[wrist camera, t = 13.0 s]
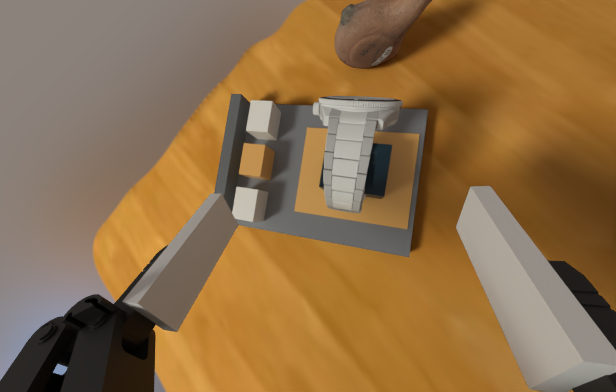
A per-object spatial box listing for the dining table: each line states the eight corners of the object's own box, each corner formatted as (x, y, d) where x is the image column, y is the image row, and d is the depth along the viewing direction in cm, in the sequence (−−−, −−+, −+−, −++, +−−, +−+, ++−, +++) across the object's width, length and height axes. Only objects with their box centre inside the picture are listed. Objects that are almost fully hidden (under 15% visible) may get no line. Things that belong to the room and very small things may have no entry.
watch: (390, 135, 21) (422, 52, 10) (378, 217, 21) (397, 220, 10) (333, 130, 22) (309, 53, 12) (320, 207, 22) (283, 201, 11)
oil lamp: (419, 27, 23) (449, -69, 15) (427, 61, 22) (463, -20, 15) (335, 54, 25) (324, -19, 17) (341, 86, 24) (332, 27, 16)
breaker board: (423, 116, 22) (437, 95, 18) (405, 254, 21) (415, 263, 17) (247, 109, 27) (228, 91, 23) (228, 221, 26) (206, 222, 22)
